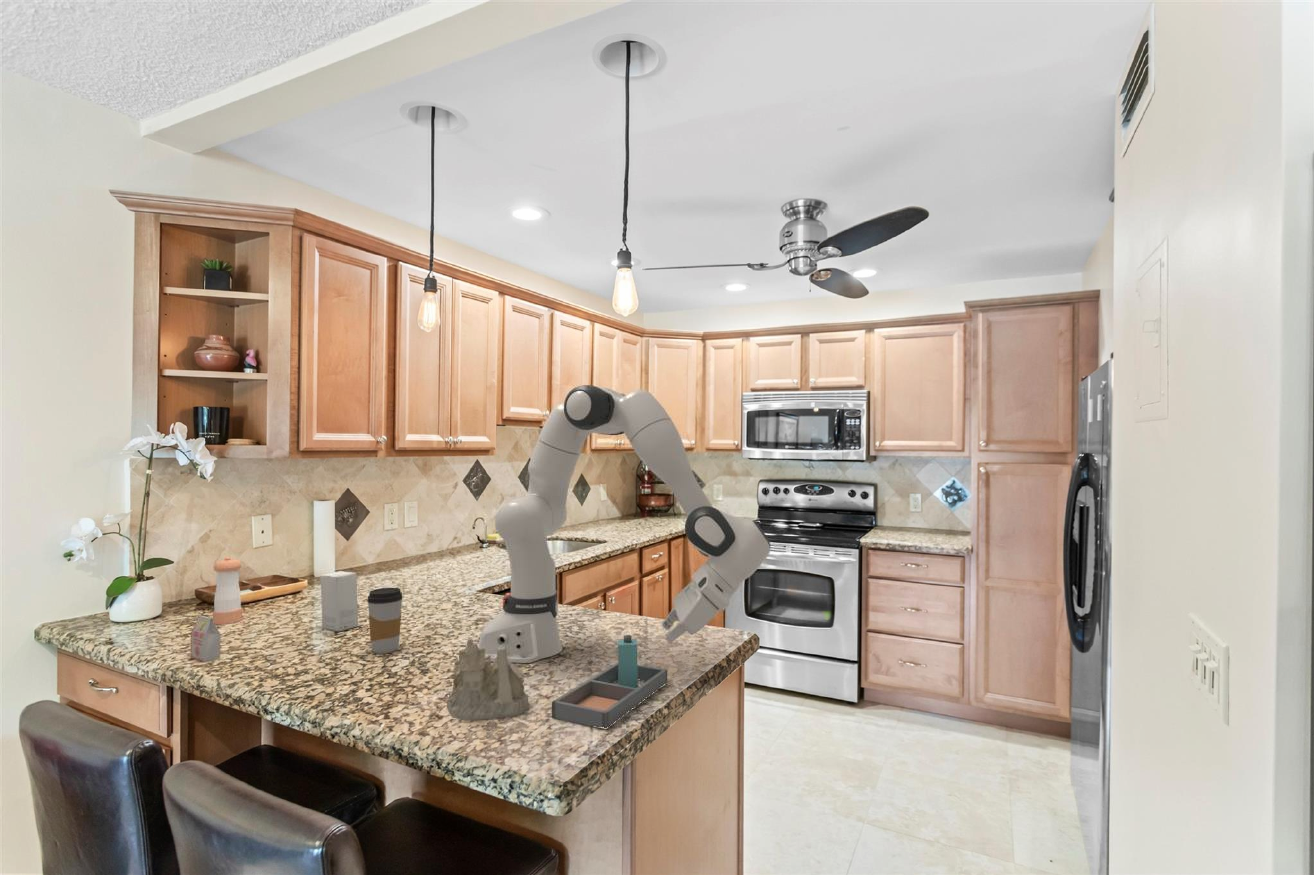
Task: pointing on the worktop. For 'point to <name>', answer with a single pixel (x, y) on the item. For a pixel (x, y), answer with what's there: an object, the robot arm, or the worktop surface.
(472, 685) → the castle ruin ornament
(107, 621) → the worktop surface
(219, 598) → the salt shaker
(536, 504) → the robot arm
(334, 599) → the skincare box
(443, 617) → the worktop surface
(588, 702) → the slot frame
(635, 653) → the teal plug
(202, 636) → the gable top carton
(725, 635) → the worktop surface
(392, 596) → the coffee cup
